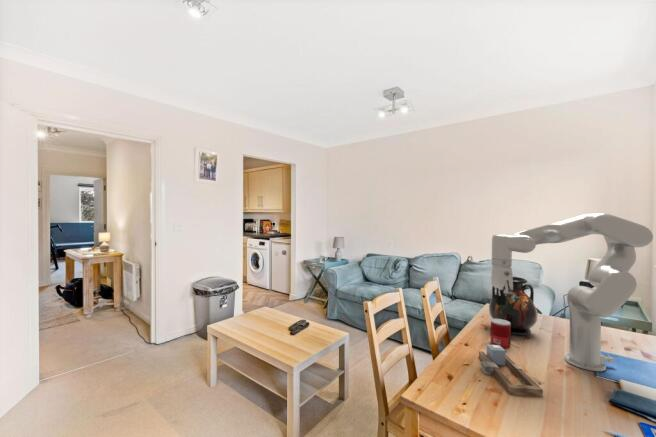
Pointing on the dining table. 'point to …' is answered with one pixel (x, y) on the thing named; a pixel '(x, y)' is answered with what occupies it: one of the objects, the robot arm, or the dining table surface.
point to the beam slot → (492, 369)
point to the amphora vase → (516, 308)
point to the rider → (496, 354)
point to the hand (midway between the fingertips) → (500, 304)
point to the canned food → (500, 332)
